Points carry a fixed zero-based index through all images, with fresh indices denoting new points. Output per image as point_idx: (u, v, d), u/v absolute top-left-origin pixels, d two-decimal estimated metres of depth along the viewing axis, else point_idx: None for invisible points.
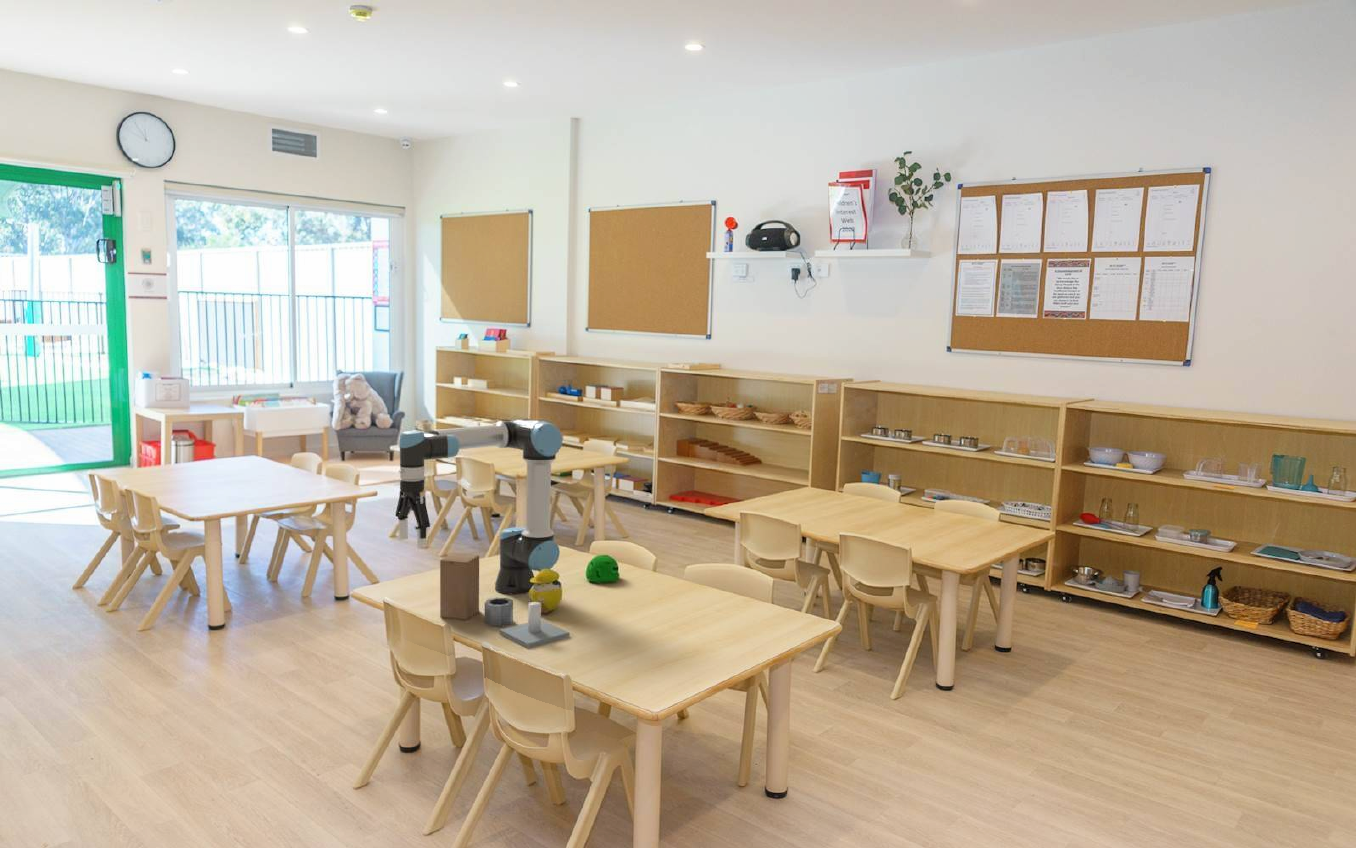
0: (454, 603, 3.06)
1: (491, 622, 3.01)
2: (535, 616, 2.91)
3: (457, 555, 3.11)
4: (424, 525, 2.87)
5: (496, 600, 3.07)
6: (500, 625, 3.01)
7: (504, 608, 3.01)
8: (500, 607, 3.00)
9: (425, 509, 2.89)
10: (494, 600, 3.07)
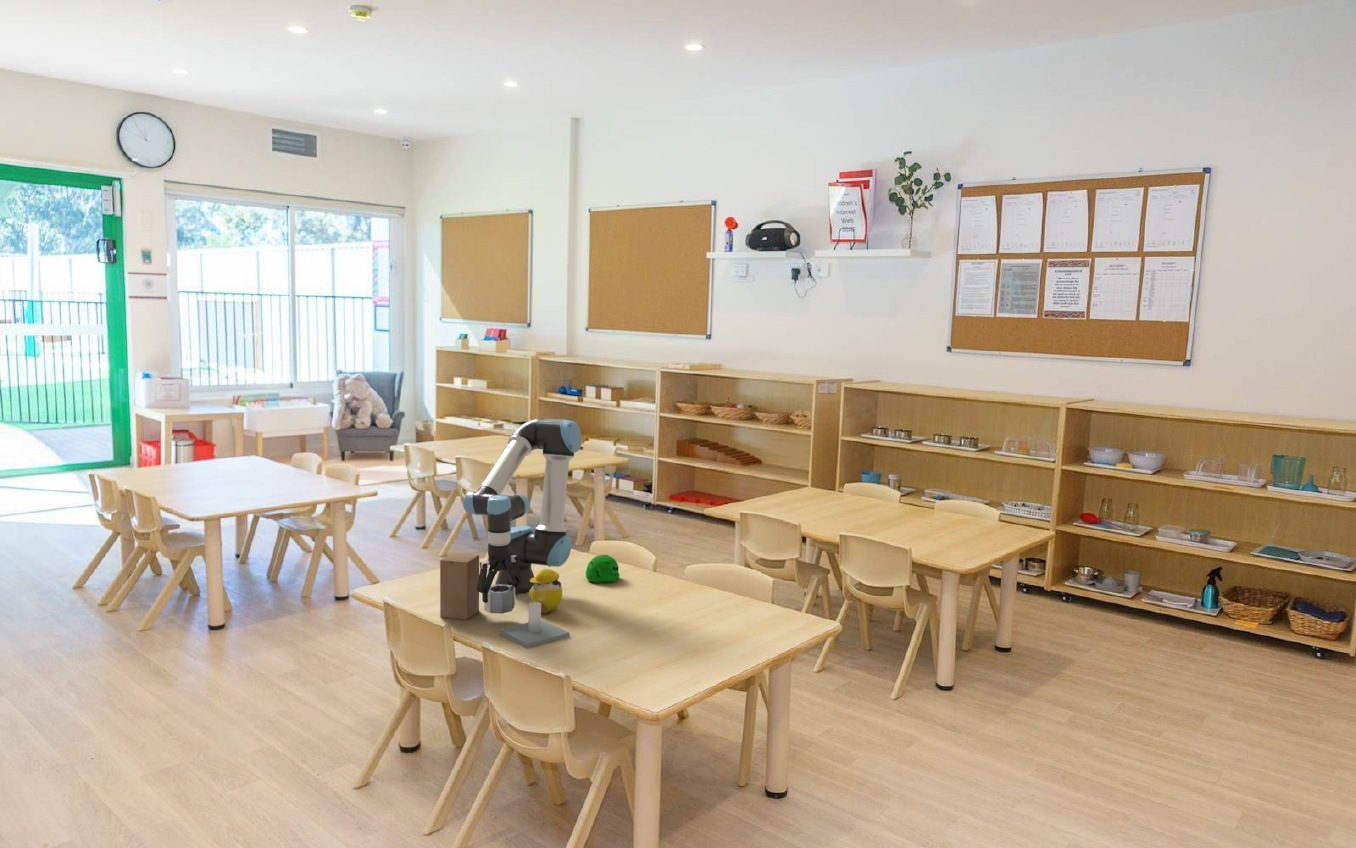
0: (454, 603, 3.06)
1: (492, 609, 3.01)
2: (535, 616, 2.91)
3: (457, 555, 3.11)
4: (477, 589, 2.99)
5: (497, 587, 3.07)
6: (501, 612, 3.01)
7: (505, 595, 3.01)
8: (501, 594, 3.00)
9: (482, 575, 2.98)
10: (495, 587, 3.07)
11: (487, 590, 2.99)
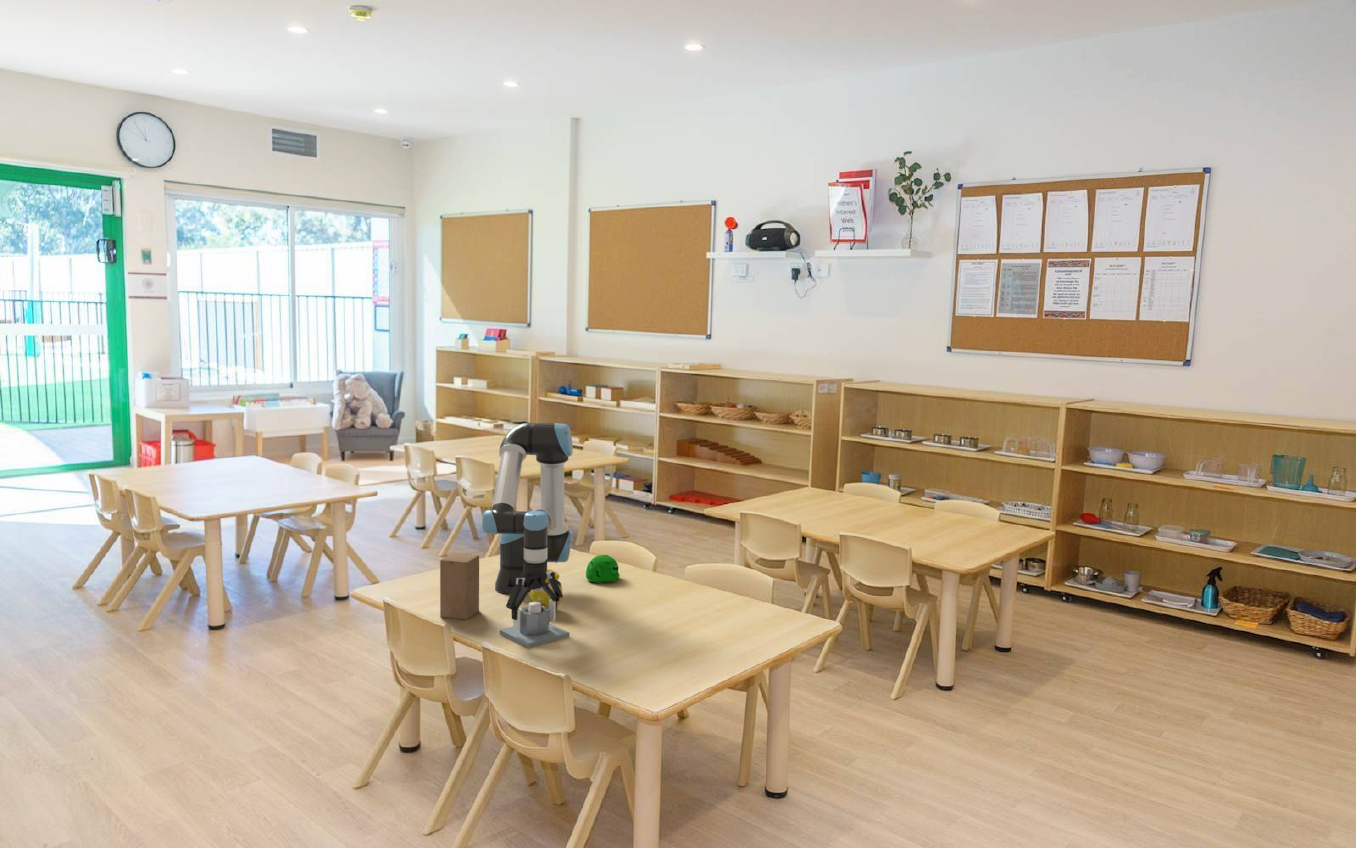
0: (454, 603, 3.06)
1: (527, 631, 2.89)
2: None
3: (457, 555, 3.11)
4: (507, 605, 2.86)
5: None
6: (536, 634, 2.89)
7: (541, 617, 2.89)
8: (537, 616, 2.88)
9: (515, 591, 2.86)
10: None
11: (517, 607, 2.86)
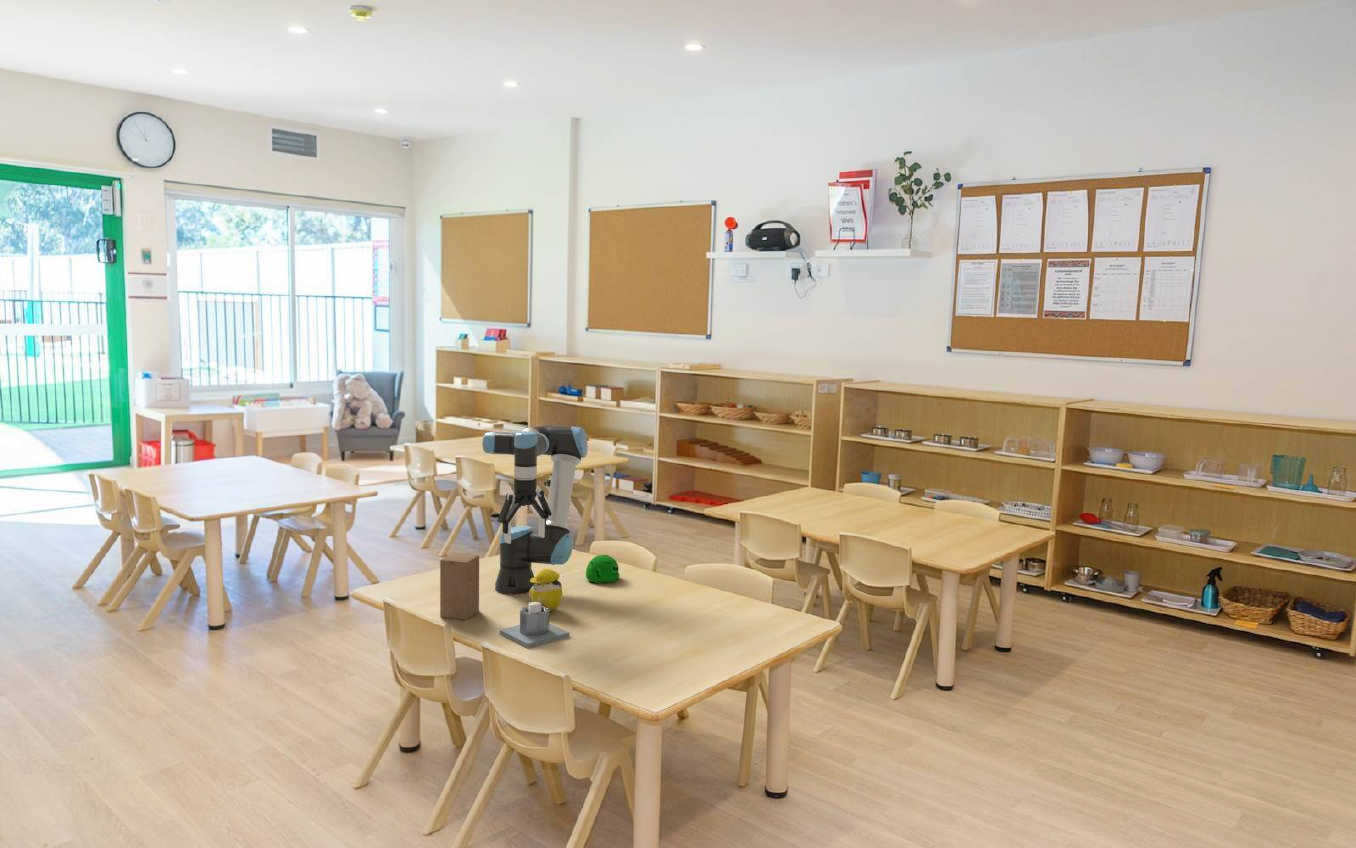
0: (454, 603, 3.06)
1: (527, 631, 2.89)
2: None
3: (457, 555, 3.11)
4: (498, 520, 3.01)
5: None
6: (536, 634, 2.89)
7: (541, 617, 2.89)
8: (537, 616, 2.88)
9: (506, 506, 3.01)
10: None
11: (508, 521, 3.02)
